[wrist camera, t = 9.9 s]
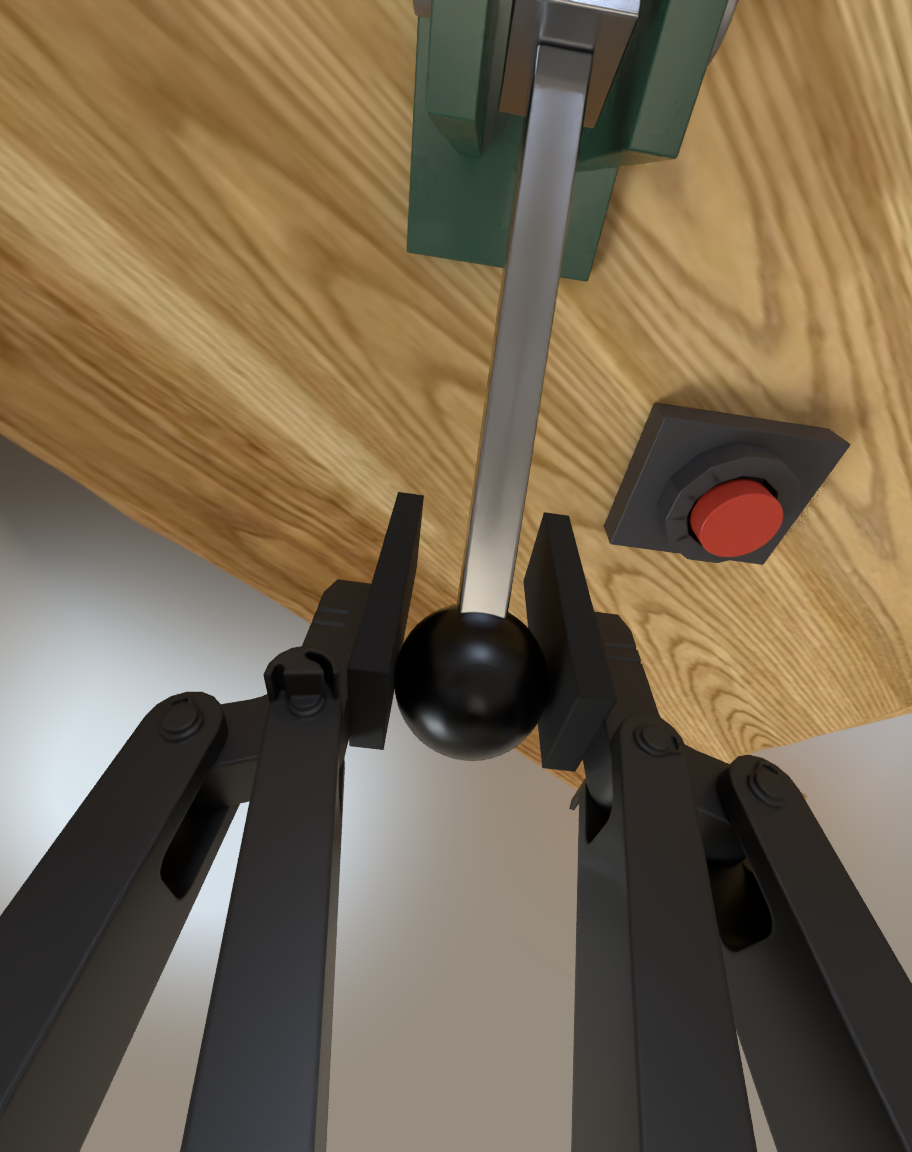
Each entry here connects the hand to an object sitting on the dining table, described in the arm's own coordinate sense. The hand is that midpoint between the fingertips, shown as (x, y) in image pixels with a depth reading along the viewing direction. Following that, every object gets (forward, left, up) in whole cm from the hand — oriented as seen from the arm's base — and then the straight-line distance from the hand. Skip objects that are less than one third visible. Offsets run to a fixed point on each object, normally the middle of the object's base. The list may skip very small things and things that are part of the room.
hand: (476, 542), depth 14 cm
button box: (+16, -5, -17) cm, 23 cm away
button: (+16, -5, -13) cm, 21 cm away
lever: (0, +4, 0) cm, 4 cm away
